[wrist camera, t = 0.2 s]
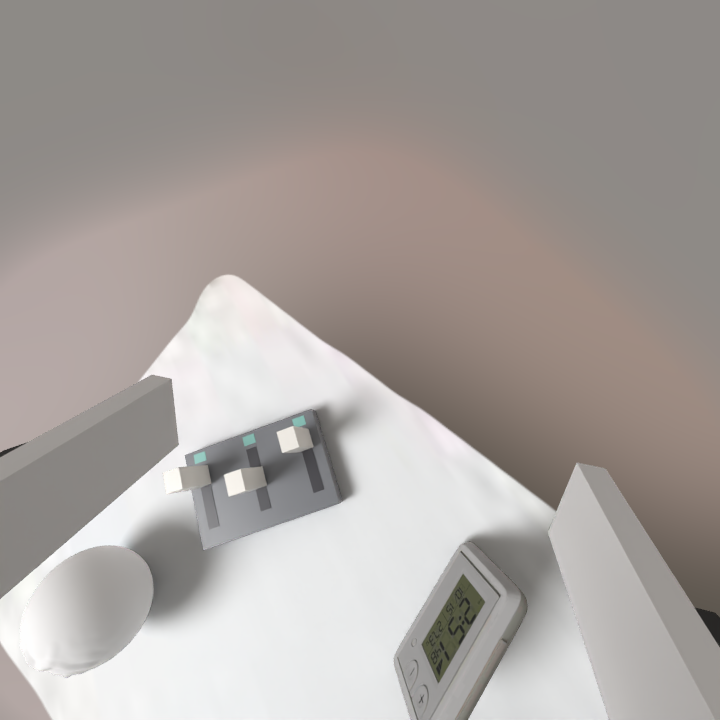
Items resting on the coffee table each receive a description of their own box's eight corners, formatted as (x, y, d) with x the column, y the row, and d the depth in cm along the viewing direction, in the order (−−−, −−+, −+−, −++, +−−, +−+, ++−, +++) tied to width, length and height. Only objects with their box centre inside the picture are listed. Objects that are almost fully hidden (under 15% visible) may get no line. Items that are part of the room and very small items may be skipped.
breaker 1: (211, 483, 46) (182, 488, 40) (197, 488, 46) (166, 494, 41) (207, 465, 47) (178, 467, 41) (193, 470, 47) (162, 473, 41)
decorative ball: (76, 618, 47) (-33, 673, 36) (112, 523, 49) (21, 545, 38) (153, 654, 45) (63, 725, 33) (188, 552, 47) (115, 585, 35)
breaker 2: (313, 447, 45) (299, 446, 40) (298, 452, 46) (282, 453, 40) (308, 428, 46) (293, 425, 40) (293, 433, 46) (276, 431, 40)
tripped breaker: (267, 485, 45) (245, 490, 39) (252, 490, 45) (228, 496, 39) (262, 466, 46) (240, 468, 40) (247, 471, 46) (223, 474, 40)
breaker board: (342, 501, 46) (339, 503, 44) (211, 546, 47) (202, 550, 45) (315, 410, 49) (311, 409, 47) (193, 454, 50) (184, 455, 48)
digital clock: (469, 531, 43) (487, 556, 33) (532, 595, 40) (572, 645, 30) (372, 634, 42) (359, 694, 32) (431, 706, 39) (436, 797, 29)
